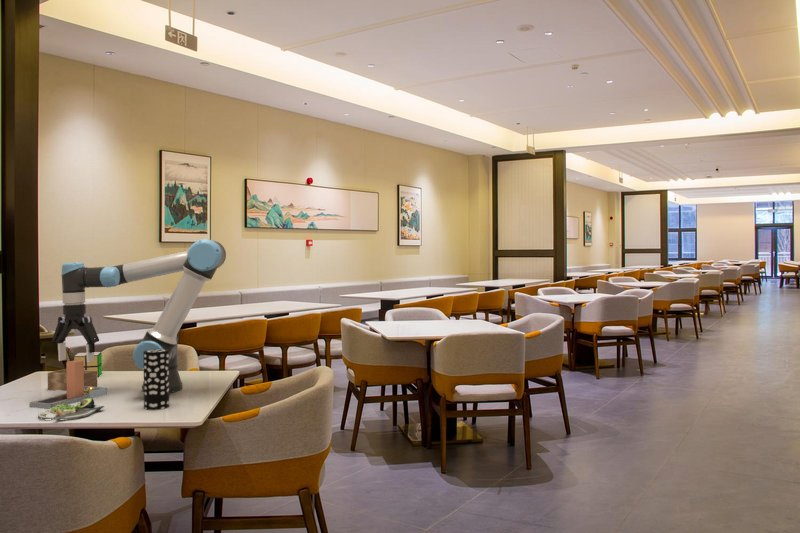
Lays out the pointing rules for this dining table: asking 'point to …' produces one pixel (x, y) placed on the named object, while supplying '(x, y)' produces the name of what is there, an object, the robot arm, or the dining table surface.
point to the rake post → (75, 378)
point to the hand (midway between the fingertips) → (76, 360)
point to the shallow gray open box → (57, 401)
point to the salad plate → (72, 410)
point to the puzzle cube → (92, 365)
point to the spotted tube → (156, 379)
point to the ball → (89, 389)
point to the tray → (97, 391)
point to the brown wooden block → (59, 379)
